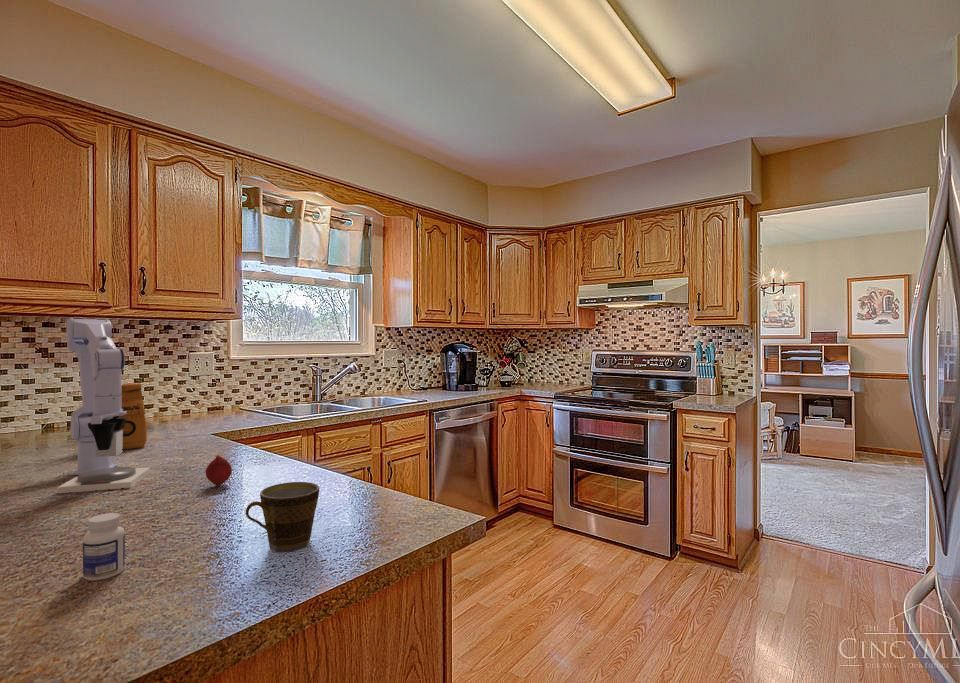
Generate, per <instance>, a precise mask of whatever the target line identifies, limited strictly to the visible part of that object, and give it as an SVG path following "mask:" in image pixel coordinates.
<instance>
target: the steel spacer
mask: <svg viewBox="0 0 960 683" xmlns="http://www.w3.org/2000/svg"><path fill="white" fill-rule="evenodd" d="M122 449H123V430H113V432H112V436H111V442H110V447H109V449H108V450H98V448H97V445H96V453H95V457H106V456H114V457H117V456H118V455H120V454H122V453H123V450H122Z"/></svg>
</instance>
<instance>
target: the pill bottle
mask: <svg viewBox="0 0 960 683" xmlns="http://www.w3.org/2000/svg"><path fill="white" fill-rule="evenodd" d="M120 523H121V517H120V514H119V513H118V512H116V513H114V512H110V513H109V512H108V513H101V514H97V515H95V516H92V517H89V519H88V520H87V530H88V532H87V533H86V534H84V536H83V539H82V578H83V579H85V580H87V581H93V582H95V581H101V580H106V579H110V578H112V577H114V576H117V575H118V574H120V573H122V572H123V571H124V570H125V568H126V544H125V543H126V532H125V529H124V528H123V527H122V526H119V525H120Z"/></svg>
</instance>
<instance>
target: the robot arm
mask: <svg viewBox="0 0 960 683" xmlns="http://www.w3.org/2000/svg"><path fill="white" fill-rule="evenodd" d="M112 327H113V326H112V322H111V321H110V319H106V318H104V319H96V318H95V319H92V318H91V319H90V318H88V319H87V318H72V317H70V318H69V319H67V321H66V328H65V329H66V330H65V331H66V342H67V343H66V344H67V347H68V350H70V351H72V352H74V353H75V354H76V357H77V360H78V370H79V381H80V391H81V402H82V403H81V404H82V405H81V406H80V407H78V408H77V409H75V410H74V411H73V412H72V413H71V416H70V436H71V439H72V440H74V441H76V442H77V469H76V470H75V471H73V472H71V473H70V476H78V475H80V474H82V473H84V472H87V471H92V470H97V469H103V468H112V467H118V466H119V464H118V463H115V456H106V457H95V453H96V445H97V448H98V450H108V449H109V447H110V442H111V436H112V432H113V430H121V428H122V426H123V424H124V423H125V421H126V417H120V418H119V416H123V415H125V414H127V411H123V409H121V385H122V375H123V374H122V371H124V368H125V364H126V356H125V351H124V349H123V348H117V347H116V344H115V343H114V341H113V339H112V337H111V336H112V333H113V332H112V331H113V330H112Z"/></svg>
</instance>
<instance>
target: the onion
mask: <svg viewBox="0 0 960 683" xmlns="http://www.w3.org/2000/svg"><path fill="white" fill-rule="evenodd" d="M232 469H233V468H232V465H231V464H230V462H229V461H228V460H227V459H226V458H224V457H222V456H221V454H219V453H217V454H216V456H215V458H214V459H212V460H211V461H210V463H208V465H207V466H206V469H205V477H206V478H207V480H208V481H209V482H211V483H212V484H213V485H215V486H217V487H220V486H221V485H223V484H224V483H225V482H227V481H228V480H229V478H231V475H232V473H233V472H232V471H233V470H232Z"/></svg>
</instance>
